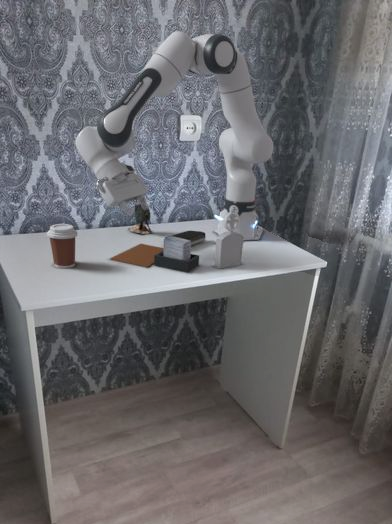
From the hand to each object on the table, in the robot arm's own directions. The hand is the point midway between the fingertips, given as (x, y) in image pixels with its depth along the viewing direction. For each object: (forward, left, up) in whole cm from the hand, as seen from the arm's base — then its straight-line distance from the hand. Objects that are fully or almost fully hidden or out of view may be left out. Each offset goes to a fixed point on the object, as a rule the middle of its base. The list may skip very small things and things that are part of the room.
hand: (139, 211), depth 157 cm
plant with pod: (-27, -15, -16) cm, 35 cm away
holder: (0, +14, -15) cm, 21 cm away
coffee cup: (+19, -16, -16) cm, 29 cm away
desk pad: (-3, 0, -15) cm, 16 cm away
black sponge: (-23, +6, -16) cm, 28 cm away
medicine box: (0, +14, -16) cm, 21 cm away
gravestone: (-10, +28, -16) cm, 33 cm away
